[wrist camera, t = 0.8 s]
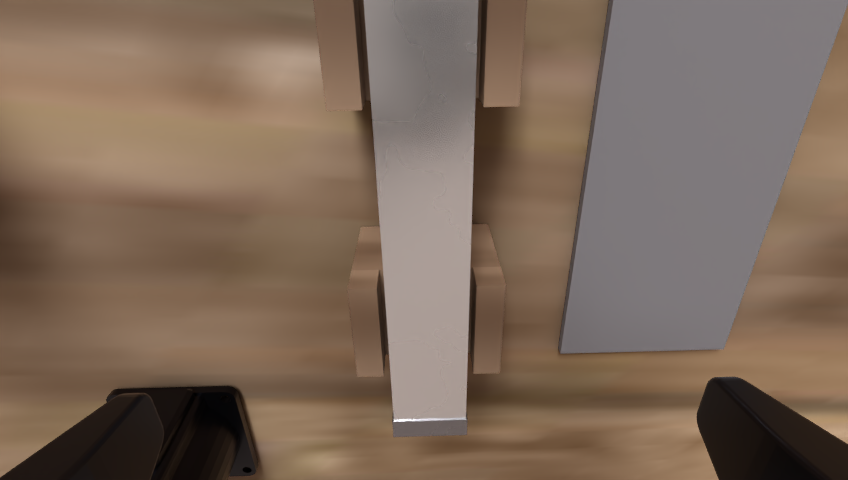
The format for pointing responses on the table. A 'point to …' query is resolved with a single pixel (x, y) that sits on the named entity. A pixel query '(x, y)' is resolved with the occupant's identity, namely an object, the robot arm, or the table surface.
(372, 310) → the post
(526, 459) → the table surface
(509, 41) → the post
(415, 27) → the rail
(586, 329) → the mat
